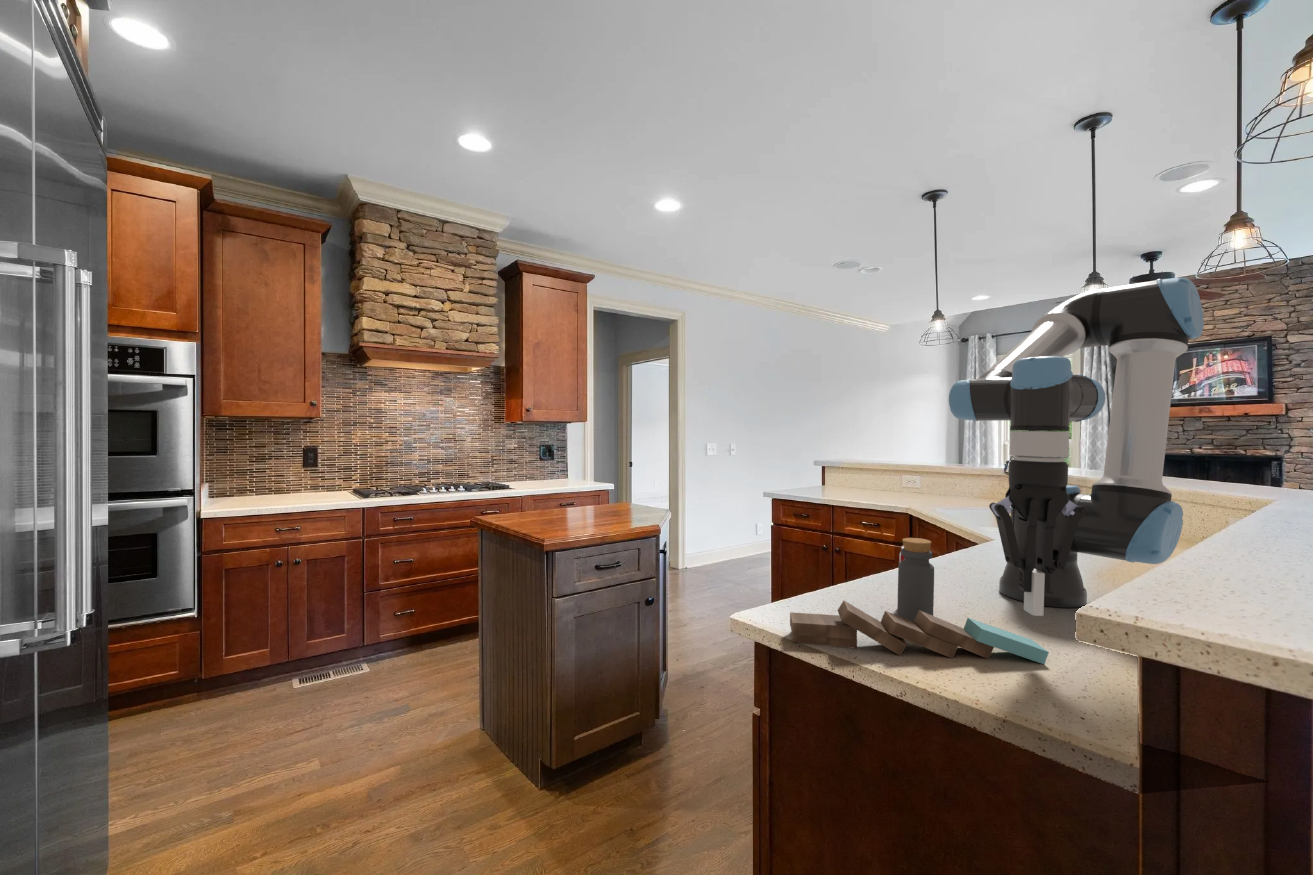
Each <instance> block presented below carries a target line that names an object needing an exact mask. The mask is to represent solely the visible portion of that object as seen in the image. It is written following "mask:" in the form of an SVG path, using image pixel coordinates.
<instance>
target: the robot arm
mask: <svg viewBox="0 0 1313 875" xmlns="http://www.w3.org/2000/svg"><path fill="white" fill-rule="evenodd" d="M1204 326H1205V325H1204V312H1203V306H1202V302H1201V297H1200V295H1199V292H1198V288H1197V287H1196V285H1195V284H1194V282H1193V281H1192V280H1191V279H1189V278H1187V277H1180V276H1179V277H1172V278H1158V279H1155V280H1150V281H1144V282H1143V281H1142V282H1138V283H1131V284H1125V285H1124V284H1123V285H1117V286H1112V287H1104V288H1097V289H1093V290H1088V291H1085V292H1083V293H1079V294H1077V295H1075V296H1073V297H1071V298H1068V299H1066V300H1065V301H1063V302H1061V303H1059V304H1057V305H1056V306H1054V307H1052V308H1051V309H1050V310H1048V311H1047V312H1045V314H1043V315H1042V316H1041V317H1039V318H1038V319H1037V320H1036V322H1034V324H1033V326H1032V330H1031V332H1030V333H1029V334H1027V336H1025V337H1024V338H1023V339H1022V340H1021V341H1019V343H1017V344H1016V345H1015V346H1014V347H1012V348H1011V349H1010V350H1009V351H1008V352H1007V353H1005V355H1003V356H1002V357H1001V358H1000V359H999V360H998V361H996V362H995V363H994V364H993V365H992V366H991V367H990V368H989V369H987V370H986V371H985V372H984V373H983V374H981V376H979V377H978V378H975V379H974V378H973V379H972V378H967V379H962V380H958V381H956V382H955V383H953V384H952V386H951V388H950V390H949V393H948V405H949V410H950V412H951V414H952V416H953V417H954V418H956V419H957V420H962V421H963V420H965V421H973V422H978V421H981V422H982V421H984V422H985V421H990V422H991V421H992V422H993V421H996V422H997V421H1010V426H1009V427H1010V428H1009V429H1010V431H1009V453H1008V454H1009V456H1011V457H1013V459H1011V460H1010V461H1009V462H1008V489H1007V491H1006V492H1005V497H1004V498H1002V499H1001V500H1000V501H997V502H991V503H989V505H988V507H989V509H990V511H991V512H992V514H993V515H994V518H995V520H996V523H997V528H998V532H999V537H1000V542H1001V547H1002V551H1003V554H1004V559H1005V562H1006V565H1005V567H1004V569H1003V570H1004V571H1003V573H1002V575H1001V577H1000V579H999V585H998V587H999V589H998V590H999V592H1000V594H1002V595H1004V596H1006V597H1008V598H1010V599H1013V600H1016V601H1020V602H1023V610H1024V611H1025V612H1027V613H1029V614H1030V615H1032V616H1035V617H1036V616H1037V617H1038V616H1039V617H1044V613H1045V611H1044V610H1045V609H1044V607H1045V606H1047V607H1052V608H1053V607H1054V608H1080V607H1084V606H1086V605H1087V604H1088V592H1087V589H1086V588H1085V586H1084V582H1083V577H1082V574H1081V572H1080V571H1081V570H1080V568H1079V565H1078V553H1080V554H1085V555H1092V556H1095V557H1096V556H1098V557H1103V558H1109V559H1115V560H1121V561H1125V562H1129V563H1132V564H1133V563H1140V564H1141V563H1142V564H1149V565H1159V564H1162V563H1164V562H1165V561H1167V560H1168V559H1170V557H1171V556H1172V554H1173V553H1174V551H1175V549H1176V548H1177V545H1178V544H1179V540H1180V538H1181V535H1182V531H1183V523H1184V520H1183V517H1184V511H1183V507H1182V505H1180V504H1179V503H1178V502H1176V501H1173V500H1172V495H1173V493H1172V492H1171V491H1170V490H1169V489H1168V488H1167V487H1166V486H1165V485H1164V484H1163V476H1164V466H1165V465H1164V464H1165V456H1166V448H1167V439H1168V430H1169V420H1170V412H1171V403H1172V393H1173V385H1174V384H1173V383H1174V377H1175V376H1174V375H1175V367H1176V366H1175V365H1176V359H1177V358H1178V357H1180V356H1181V355H1183V354H1184V353H1186V352H1187V351H1188V348H1189V347H1188V346H1189V340H1195V339H1199V338H1200V337H1201V336H1202V335H1203V331H1204V328H1205V327H1204ZM1101 346H1102V347H1104V346H1107V347H1108V352H1109V353H1110V354H1111V355H1113V356H1114V357H1115V359H1117V360H1116V365H1115V366H1116V367H1115V375H1114V376H1115V377H1114V385H1113V394H1112V401H1111V408H1110V416H1109V418H1110V420H1109V427H1108V433H1107V434H1108V435H1107V441H1106V451H1105V458H1104V459H1105V460H1104V468H1103V476H1102V477H1101V478H1099V479H1098V480H1096V481H1095V482H1093V483H1092V485H1091V493H1081V492H1082V491H1081V489H1080V486H1078V485H1071V484H1069V463H1067V462H1066V461H1064V460H1065V459H1068V458H1069V457H1070V447H1069V446H1070V422H1075V423H1078V422H1082V421H1086V420H1089V419H1092V418H1094V417H1095V416H1096V415H1098V414H1099V413H1100V412H1101V411H1102V409H1103V407H1104V405H1105V403H1106V398H1107V397H1106V393H1105V392H1106V391H1105V389H1104V388H1103V386H1102V384H1100V382H1098V381H1097V380H1096V379H1094V378H1092V377H1089V376H1087V375H1083V374H1082V373H1081V374H1079V373H1078V374H1073V371H1072V362H1071V360H1070V358H1068V357H1066V356H1069V355H1071V354H1074V353H1076V352H1077V351H1079V349H1083V348H1090V347H1101ZM1068 484H1069V485H1068ZM1085 604H1086V605H1085ZM1083 605H1084V606H1083Z"/></svg>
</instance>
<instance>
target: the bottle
mask: <svg viewBox="0 0 1313 875" xmlns="http://www.w3.org/2000/svg"><path fill="white" fill-rule="evenodd" d="M902 544H903V545H902V546H904V548H900V551H901V555H903V556H904V560H903V561H901V562H900V563H899V562H898V569H897V571H898V572H897V578H898V579H897V605H896V606H897V614H896V615H897V616H900V617H902V618H905V619H907V620H910V621H912V622H914V620H915V618H916V616H917V614H918V611H919V610H920V611H922V612H925V613H927V614H930V615H932V616H934V605H935V604H934V602H935V601H934V598H935V594H934V593H935V567H934V565H933V564H932V563H930V559H932V558H933V551H932V550H931V546H932V541H931V540H929V539H925V538H921V537H920V538H918V537H905V538H902Z"/></svg>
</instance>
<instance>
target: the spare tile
mask: <svg viewBox="0 0 1313 875" xmlns="http://www.w3.org/2000/svg"><path fill="white" fill-rule="evenodd" d="M963 629H964V630H965V631H966V632H967V633H968V634H970V635H971V636H972V637H973V638H974V639H975V640H976V641H978V642H981V643H984V644H987V645H990V646H993V647H994V648H995V649H997V650H998V649H999V650H1002V651H1005V652H1008V653H1011V654H1014V655H1016V656H1019V657H1022V658H1024V659H1028V660H1030V661H1033V662H1037V663H1040V664H1042V665H1045V663H1046V661H1047V658H1048V656H1049V653H1050V651H1048V650H1047V649H1045V648H1044V647H1042V646H1041V645H1040V644H1039V643H1037V642H1035V641H1034V640H1033V639H1031V638H1028V637H1025V636H1022V635H1020V634H1017V633H1014V632H1011V631H1008V630H1005V629H1002V628H999V627H997V626H993V625H990V624H987V623H985V622H981V621H979V620H976V619H973V618H970V617H967V619H966V622H965V624H964V627H963Z"/></svg>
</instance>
